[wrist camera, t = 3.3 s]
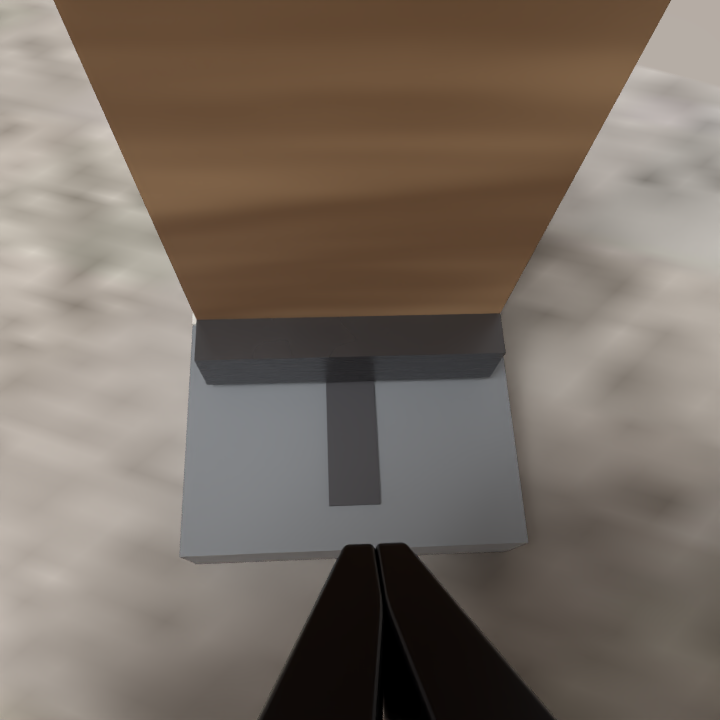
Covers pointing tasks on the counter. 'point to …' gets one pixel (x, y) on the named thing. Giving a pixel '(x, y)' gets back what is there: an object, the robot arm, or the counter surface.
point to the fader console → (349, 468)
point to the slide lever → (354, 164)
